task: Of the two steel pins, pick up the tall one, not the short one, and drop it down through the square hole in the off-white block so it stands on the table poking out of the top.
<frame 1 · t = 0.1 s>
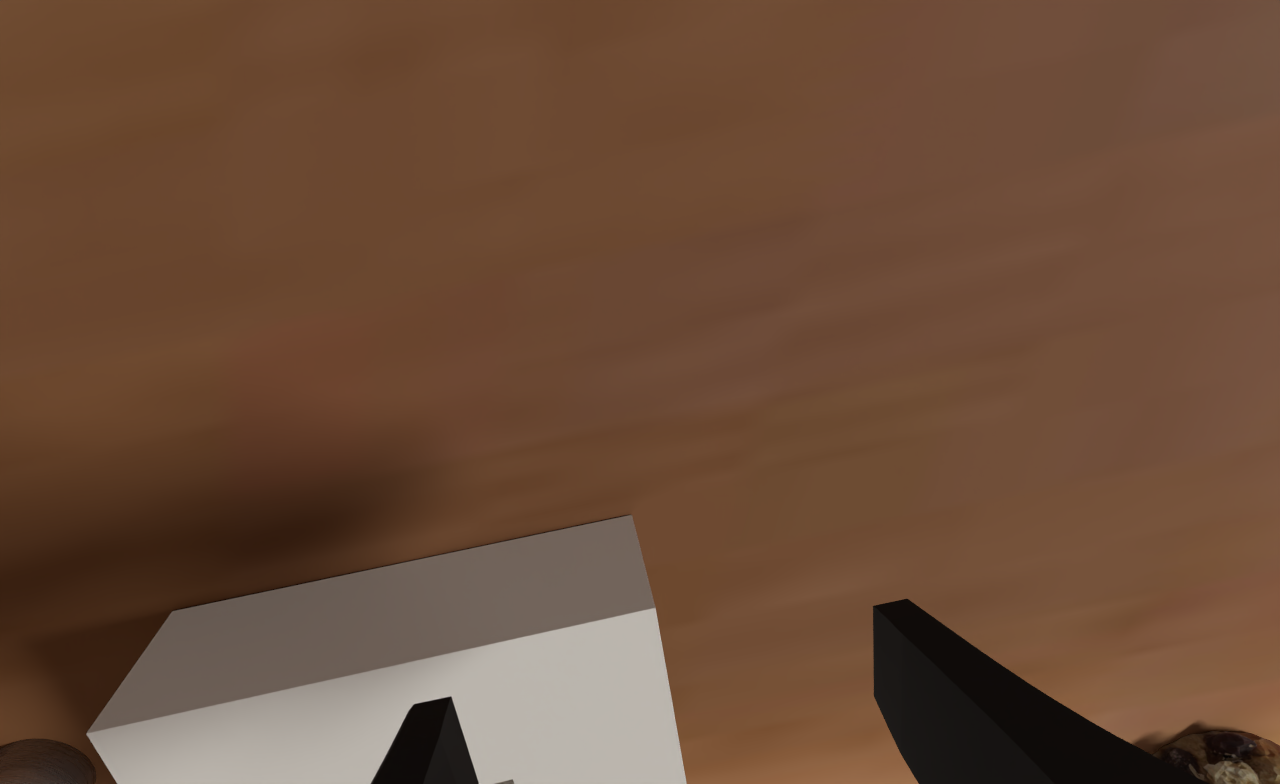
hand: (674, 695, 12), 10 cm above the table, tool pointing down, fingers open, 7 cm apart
hole block: (463, 727, 24), on the table
short steel pin: (43, 774, 23), on the table
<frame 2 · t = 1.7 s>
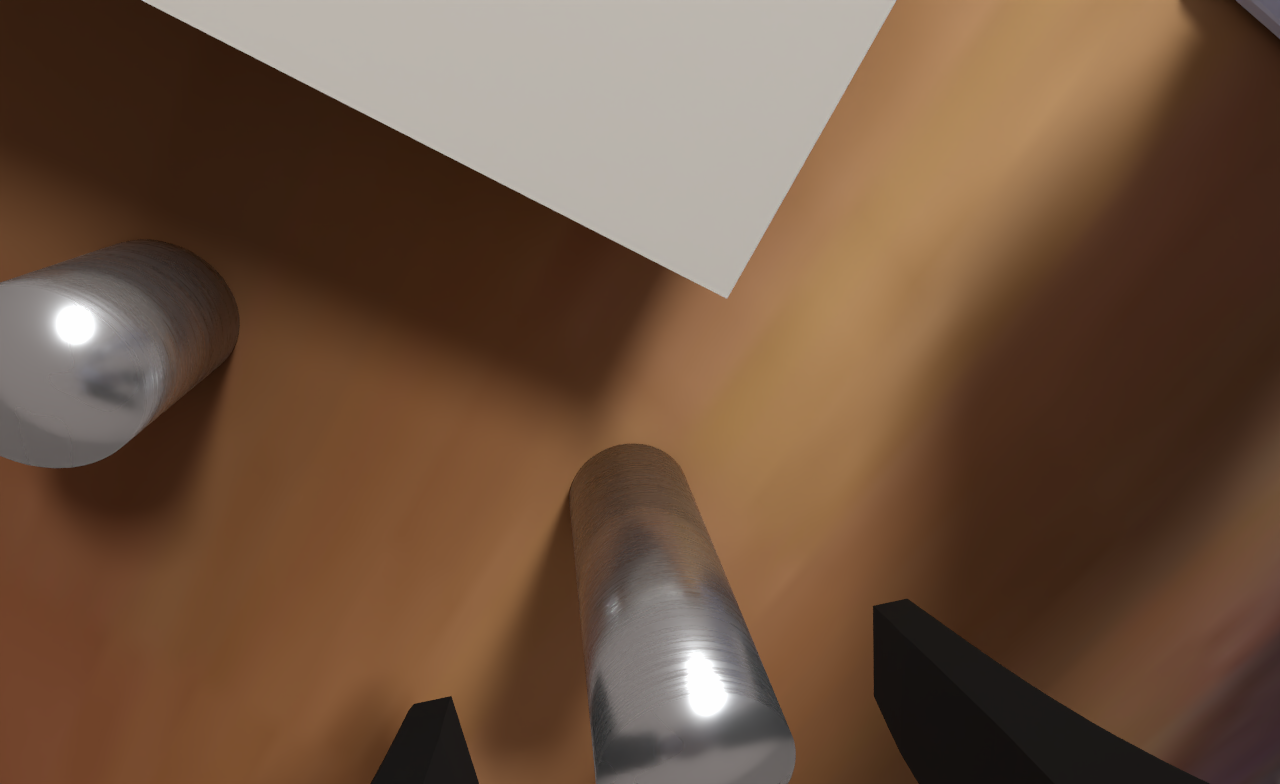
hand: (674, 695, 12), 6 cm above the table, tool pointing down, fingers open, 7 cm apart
tall steel pin: (629, 497, 18), on the table
short steel pin: (160, 312, 15), on the table
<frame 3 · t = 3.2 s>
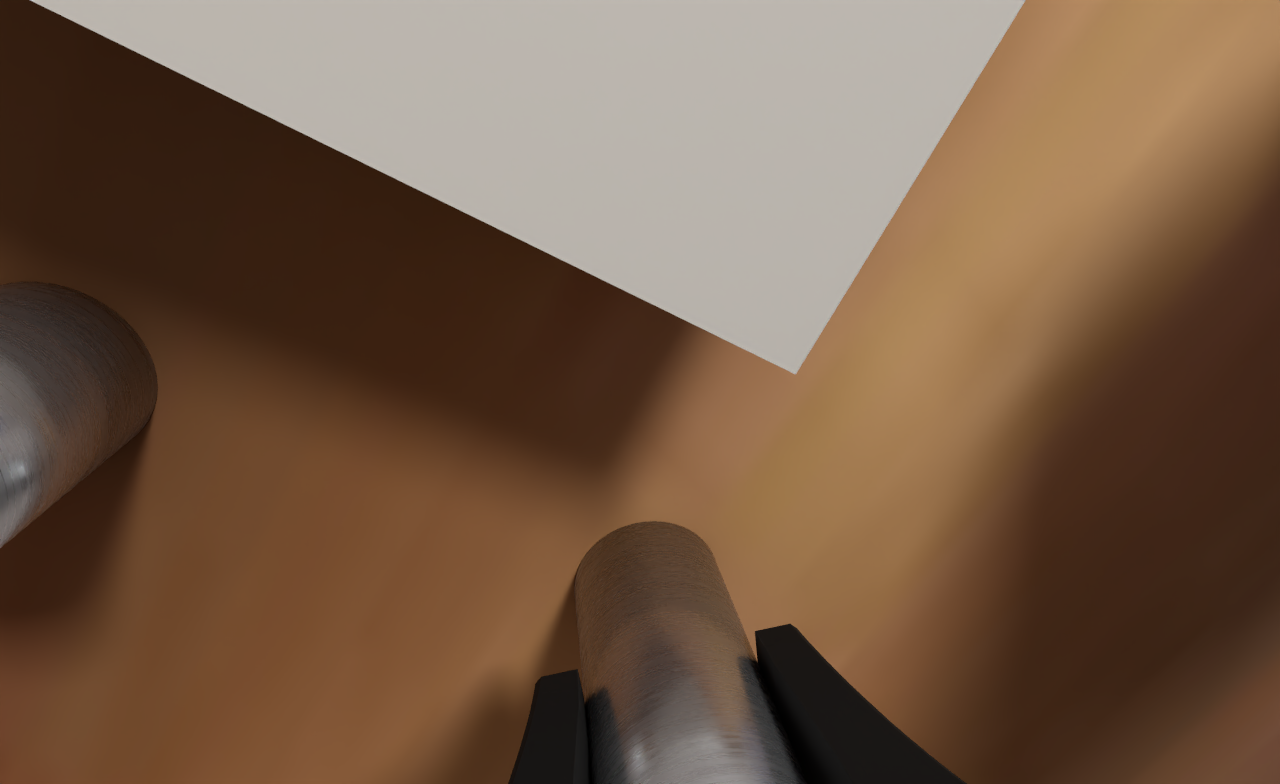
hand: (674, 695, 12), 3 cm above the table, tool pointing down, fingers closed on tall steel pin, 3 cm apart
tall steel pin: (646, 584, 15), on the table, touching gripper
short steel pin: (54, 372, 11), on the table
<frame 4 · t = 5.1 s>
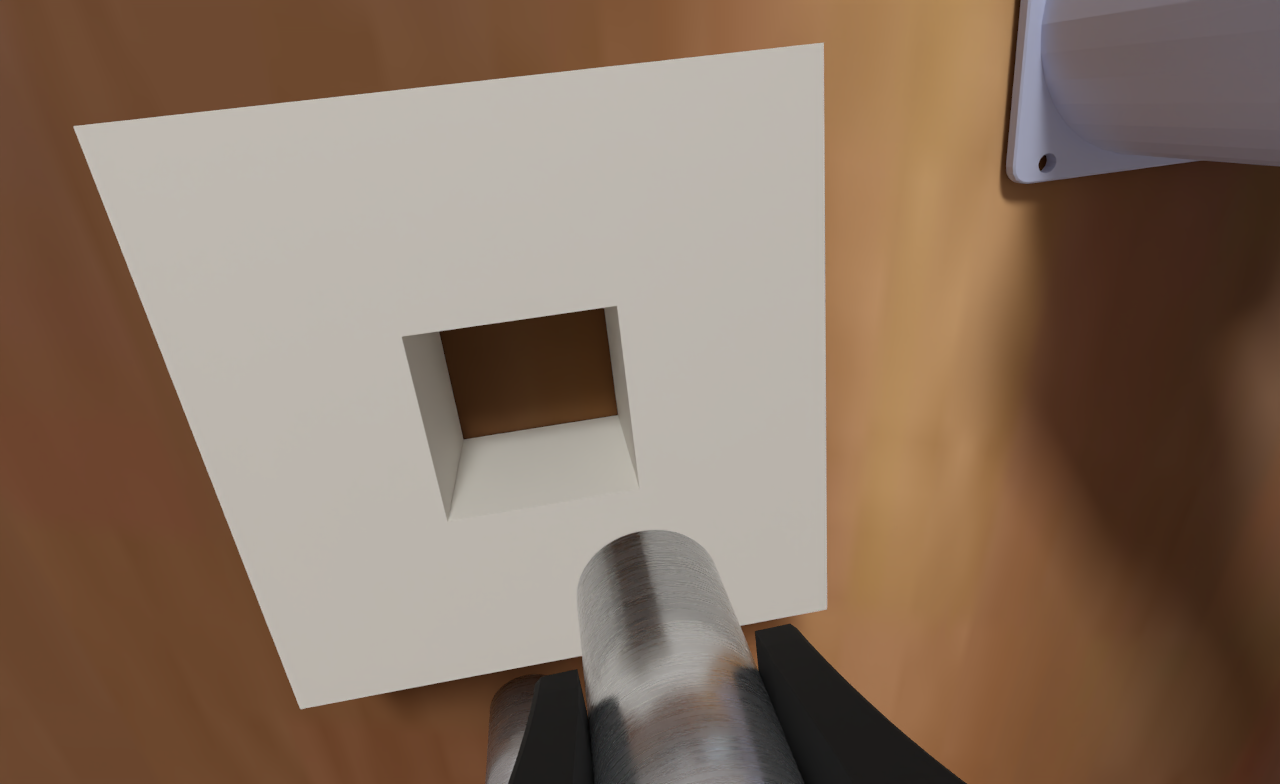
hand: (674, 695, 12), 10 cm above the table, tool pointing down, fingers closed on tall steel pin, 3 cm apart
tall steel pin: (648, 591, 15), point 7 cm above the table, touching gripper
hole block: (528, 354, 20), on the table
short steel pin: (533, 707, 25), on the table
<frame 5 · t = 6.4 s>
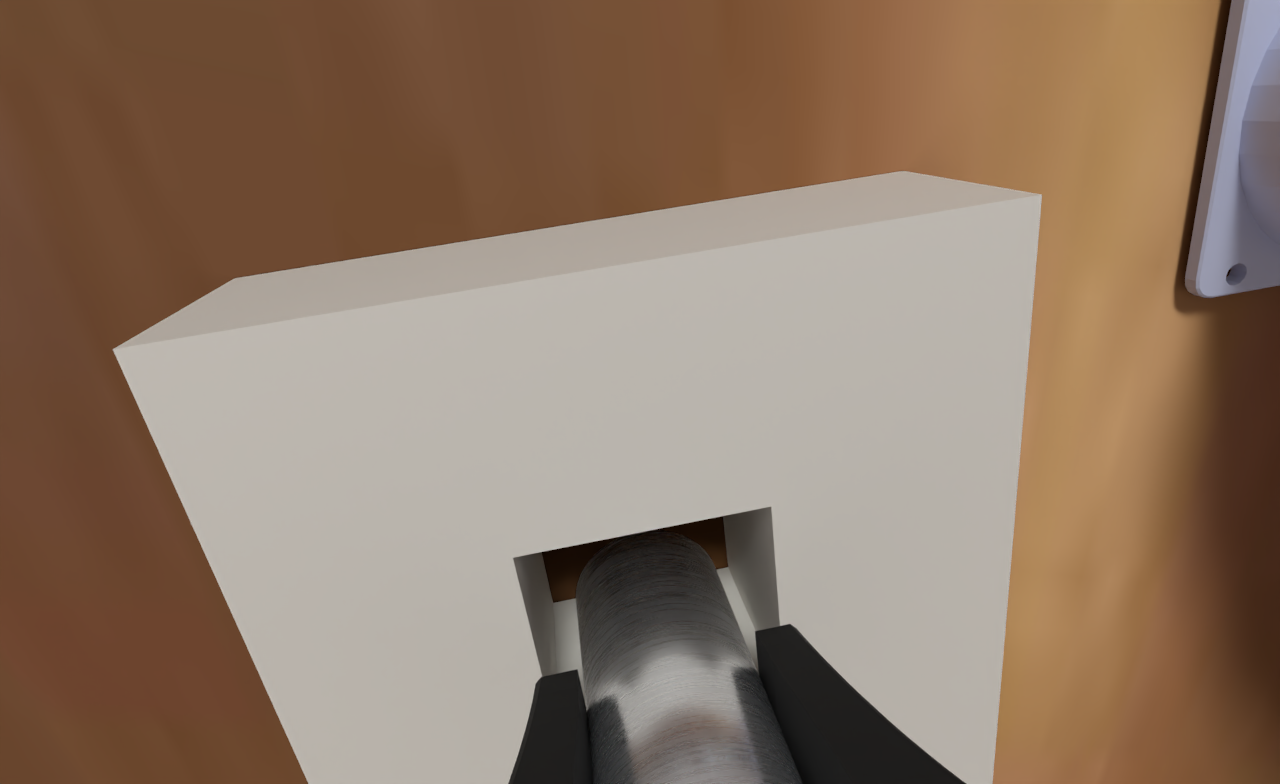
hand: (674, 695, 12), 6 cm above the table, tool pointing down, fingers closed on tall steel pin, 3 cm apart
tall steel pin: (647, 591, 15), point 3 cm above the table, touching gripper
hole block: (629, 509, 17), on the table
when the fingers open (5 cm above the table, at t = 7.3 s): tall steel pin drops 2 cm, resting in hole block.
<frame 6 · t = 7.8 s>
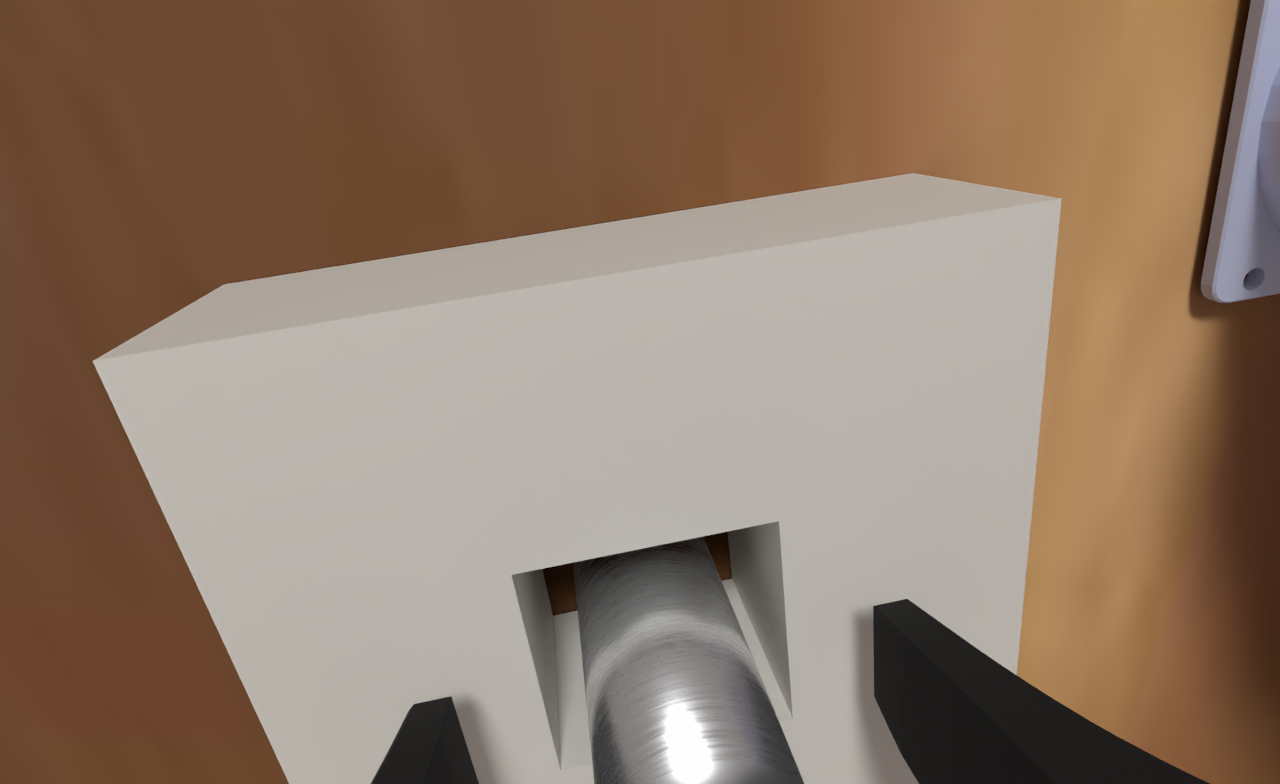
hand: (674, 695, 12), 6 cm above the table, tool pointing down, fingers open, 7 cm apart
tall steel pin: (632, 526, 17), resting in hole block
hole block: (630, 519, 17), on the table
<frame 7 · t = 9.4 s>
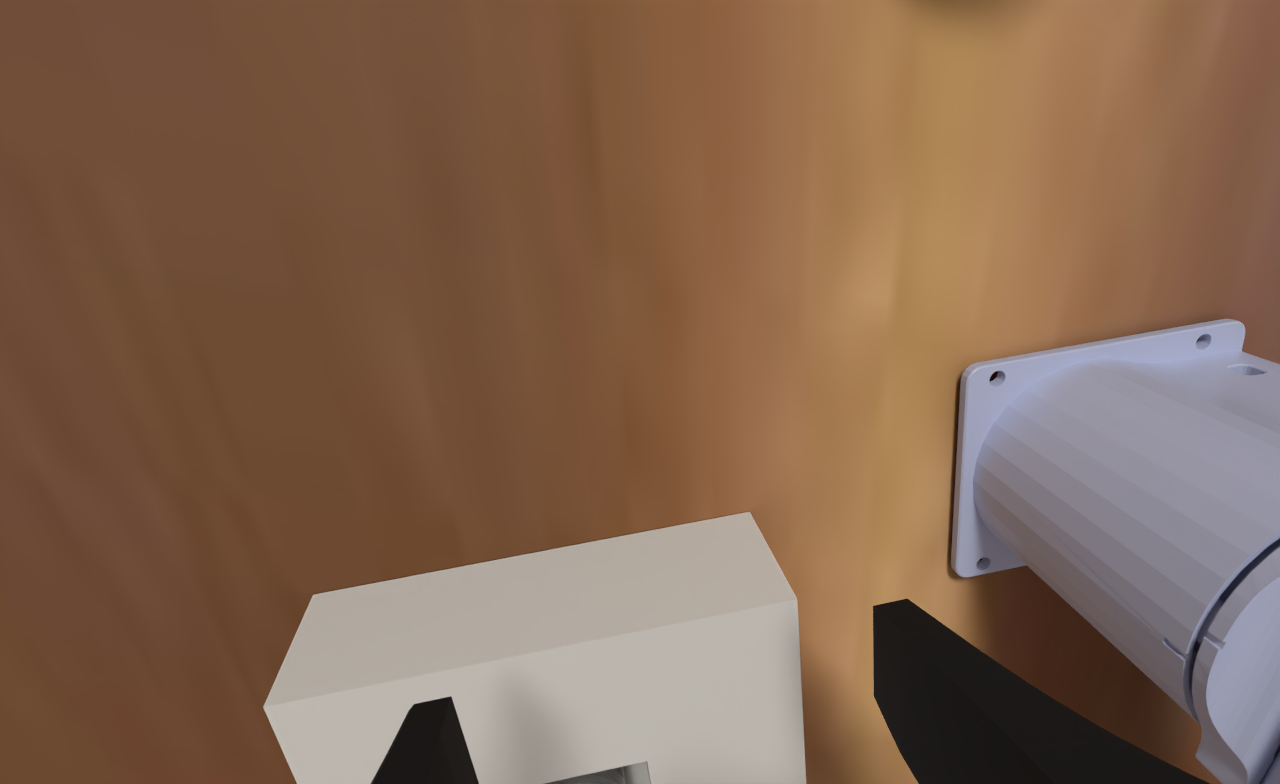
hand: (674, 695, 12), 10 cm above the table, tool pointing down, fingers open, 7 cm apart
tall steel pin: (573, 718, 25), resting in hole block
hole block: (572, 714, 25), on the table
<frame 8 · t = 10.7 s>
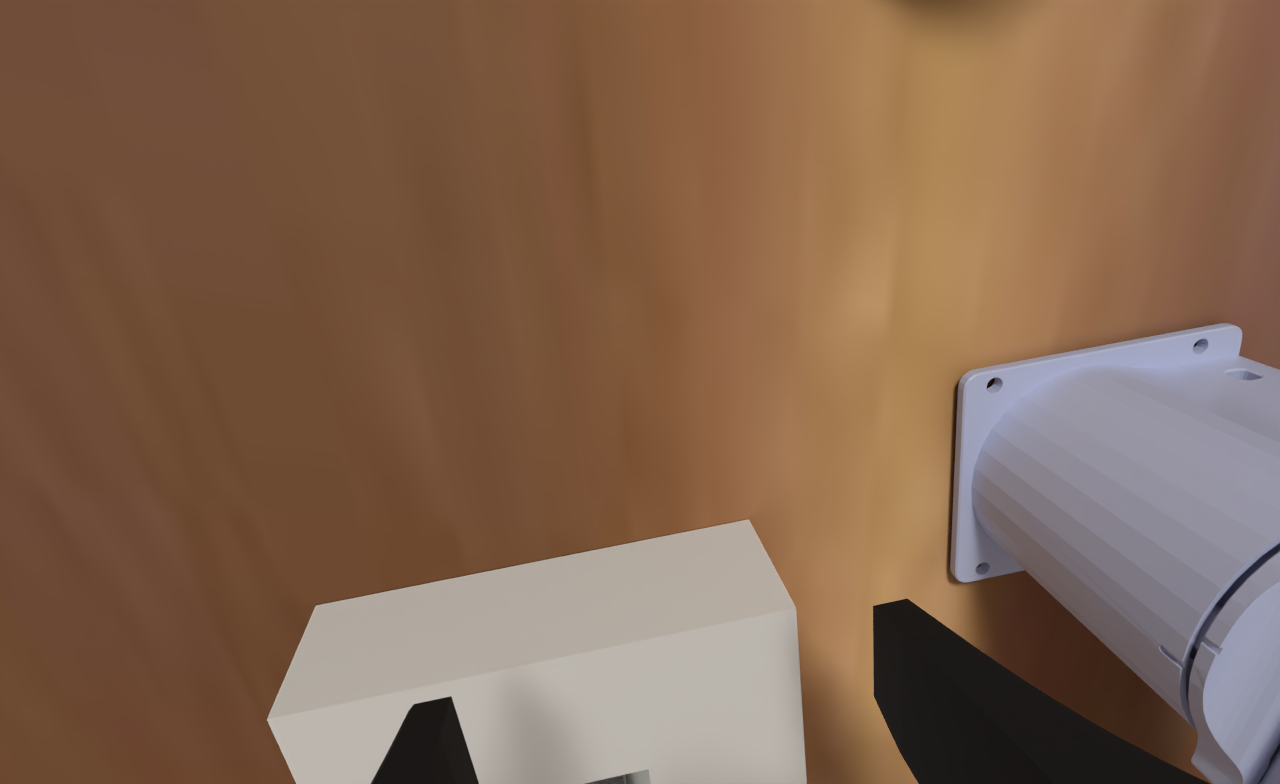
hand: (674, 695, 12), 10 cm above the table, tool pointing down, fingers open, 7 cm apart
hole block: (574, 721, 25), on the table
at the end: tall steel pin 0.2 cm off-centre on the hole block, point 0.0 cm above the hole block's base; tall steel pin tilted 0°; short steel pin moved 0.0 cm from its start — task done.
